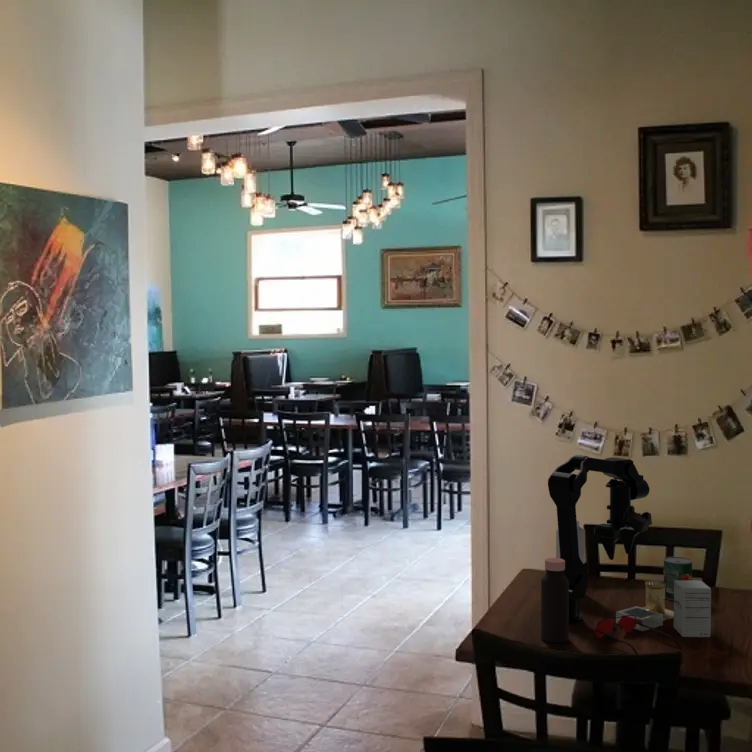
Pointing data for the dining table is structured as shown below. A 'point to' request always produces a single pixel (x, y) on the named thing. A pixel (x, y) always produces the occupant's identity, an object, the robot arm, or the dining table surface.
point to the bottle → (554, 602)
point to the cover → (655, 596)
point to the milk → (580, 544)
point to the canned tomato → (676, 573)
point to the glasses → (626, 624)
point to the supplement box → (692, 608)
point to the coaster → (667, 614)
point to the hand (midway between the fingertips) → (619, 556)
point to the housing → (642, 617)
